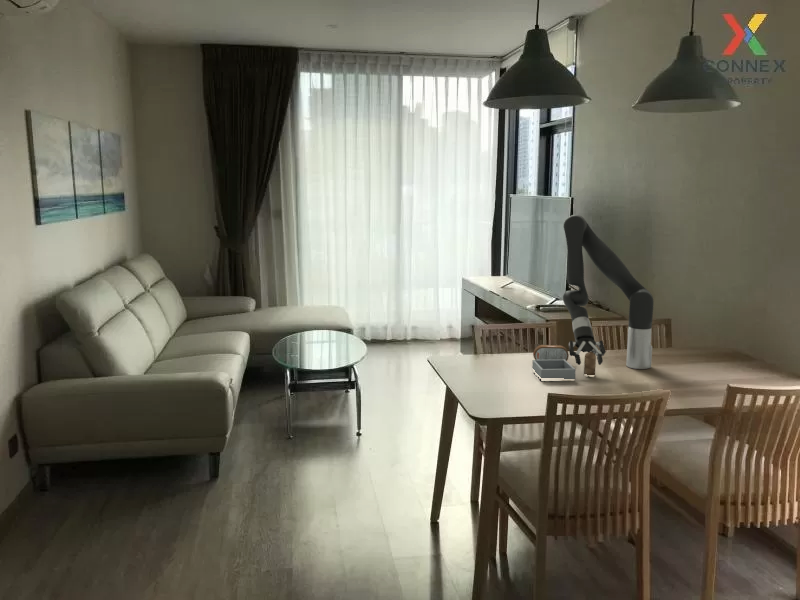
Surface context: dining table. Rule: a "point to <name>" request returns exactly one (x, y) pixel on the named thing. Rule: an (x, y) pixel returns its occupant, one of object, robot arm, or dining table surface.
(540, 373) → the bin
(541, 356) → the tin
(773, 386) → the dining table surface
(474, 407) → the dining table surface
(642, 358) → the robot arm
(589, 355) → the pepper mill
